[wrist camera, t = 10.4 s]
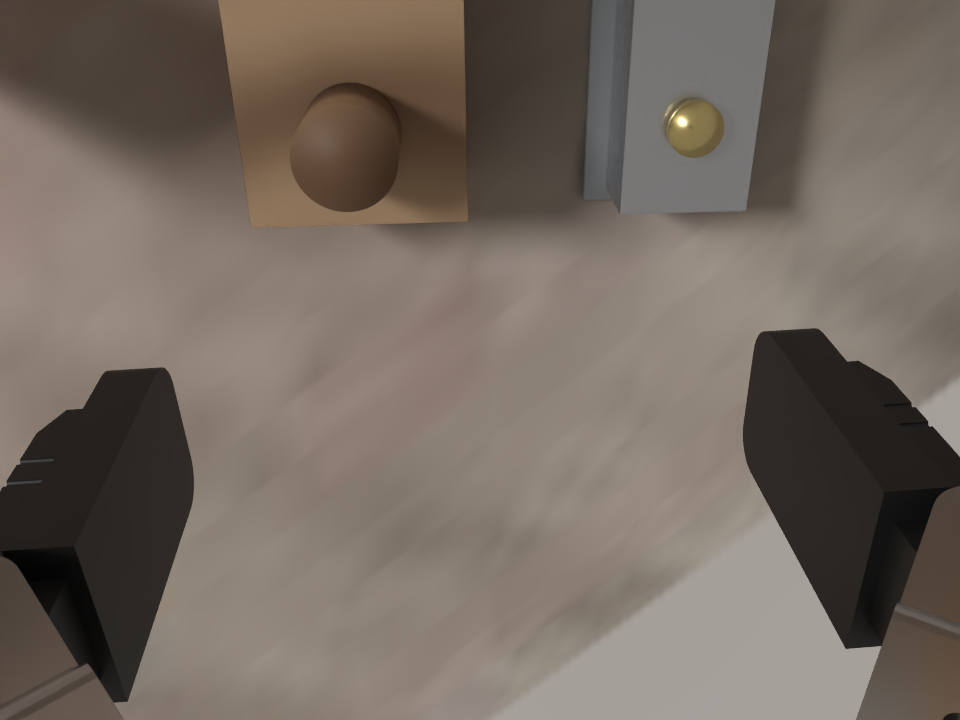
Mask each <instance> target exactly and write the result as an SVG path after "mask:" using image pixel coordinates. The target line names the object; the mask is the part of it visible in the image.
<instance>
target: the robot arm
mask: <svg viewBox="0 0 960 720" xmlns="http://www.w3.org/2000/svg"><path fill="white" fill-rule="evenodd" d="M743 444H744V452H745V457H746V461H747V464H748V467H749V469H750V472H751V474H752V475H753V477H754V479H755V481H756V483H757V485H758V487H759V488H760V490H761V492H762V494H763V496H764V498H765V500H766V501H767V503H768V505H769V507H770V509H771V511H772V513H773V514H774V516H775V518H776V520H777V522H778V524H779V526H780V527H781V529H782V531H783V533H784V535H785V537H786V539H787V540H788V542H789V544H790V546H791V548H792V550H793V551H794V553H795V555H796V557H797V559H798V561H799V563H800V564H801V566H802V568H803V570H804V572H805V574H806V576H807V577H808V579H809V581H810V583H811V585H812V587H813V589H814V591H815V592H816V594H817V596H818V598H819V600H820V602H821V604H822V605H823V607H824V609H825V611H826V613H827V614H828V616H829V618H830V620H831V622H832V624H833V626H834V628H835V630H836V631H837V633H838V635H839V637H840V639H841V641H842V642H843V644H844V646H845V648H846V649H849V648H861V647H873V646H881V649H880V652H879V655H878V658H877V661H876V664H875V666H874V669H873V672H872V675H871V678H870V681H869V684H868V687H867V689H866V693H865V695H864V698H863V701H862V704H861V707H860V710H859V712H858V715H857V718H856V720H960V457H959V456H958V454H957V453H956V452H955V451H954V450H953V449H952V448H951V447H950V445H949V444H948V443H947V442H946V441H945V440H944V439H943V438H942V436H941V435H940V434H939V433H938V432H937V431H936V430H935V429H934V428H933V427H929V426H928V421H927V420H926V418H925V417H924V416H923V415H922V414H921V413H920V412H919V411H918V409H917V408H916V407H913V408H912V406H911V402H910V400H909V399H908V398H907V397H906V396H905V395H904V394H903V393H902V391H901V390H900V389H899V388H898V387H897V386H896V385H895V384H894V382H893V381H892V380H890V379H889V378H887V377H885V376H884V375H882V374H880V373H878V372H877V371H875V370H873V369H871V368H870V367H868V366H866V365H865V364H863V363H861V362H859V361H851V362H847V361H846V360H845V359H844V357H843V356H842V355H841V354H840V353H839V351H838V350H837V349H836V348H835V347H834V346H833V344H832V343H831V342H830V341H829V340H828V338H827V337H826V336H825V335H824V334H823V332H822V331H820V330H819V329H816V328H812V329H796V330H780V331H764V332H761V333H760V334H759V336H758V337H757V340H756V343H755V347H754V353H753V360H752V367H751V374H750V381H749V389H748V396H747V403H746V410H745V417H744V425H743ZM20 462H21V463H20V465H16V467H15V469H14V470H13V472H12V473H11V475H10V477H9V478H8V480H7V487H3V488H2V489H1V491H0V720H124V719H123V717H122V715H121V714H120V712H119V711H118V709H117V708H116V706H115V704H114V703H115V702H128V699H129V696H130V693H131V690H132V687H133V683H134V680H135V677H136V674H137V671H138V668H139V665H140V662H141V659H142V656H143V653H144V650H145V647H146V644H147V641H148V638H149V635H150V632H151V629H152V625H153V622H154V619H155V616H156V613H157V610H158V607H159V604H160V601H161V598H162V595H163V592H164V589H165V586H166V583H167V580H168V577H169V574H170V571H171V567H172V564H173V561H174V558H175V555H176V552H177V549H178V546H179V543H180V540H181V537H182V534H183V531H184V528H185V525H186V522H187V519H188V516H189V513H190V509H191V506H192V501H193V492H194V475H193V466H192V460H191V456H190V452H189V448H188V444H187V439H186V435H185V431H184V427H183V423H182V419H181V415H180V410H179V406H178V402H177V398H176V394H175V390H174V386H173V382H172V379H171V376H170V374H169V372H168V371H167V370H166V369H165V368H146V369H129V370H113V371H106V372H105V373H104V374H103V375H102V376H101V378H100V380H99V382H98V383H97V385H96V387H95V389H94V390H93V392H92V394H91V396H90V397H89V399H88V401H87V402H86V404H85V406H84V408H83V409H74V410H66V411H65V412H64V413H62V414H61V415H60V416H58V417H57V418H56V419H55V420H53V421H52V422H51V423H49V424H48V425H47V426H46V427H44V428H43V429H42V430H41V431H39V432H38V433H37V434H36V435H35V437H34V438H33V440H32V442H31V443H30V445H29V446H28V448H27V450H26V451H25V453H24V454H23V456H22V457H21V459H20Z"/></svg>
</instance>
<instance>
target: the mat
mask: <svg viewBox="0 0 960 720" xmlns="http://www.w3.org/2000/svg"><path fill="white" fill-rule="evenodd" d="M616 1H617V0H591V7H590V30H589V53H588V75H587V98H586V121H585V144H584V167H583V190H582V198H583V200H612V198H611V196H610V194H609V193H608V191H607V189H606V187H605V185H606V169H607V152H608V135H609V118H610V101H611V85H612V68H613V51H614V34H615V18H616Z"/></svg>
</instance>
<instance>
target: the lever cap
mask: <svg viewBox="0 0 960 720" xmlns="http://www.w3.org/2000/svg"><path fill="white" fill-rule="evenodd" d="M774 7H775V0H617V1H616V18H615V34H614V51H613V68H612V85H611V101H610V118H609V135H608V152H607V169H606V185H605V187H606V189H607V191H608V193H609V194H610V196H611V198H612V200H613V202H614V204H615V206H616V208H617V209H618V211H619V213H620V214H649V213H688V212H726V211H746V207H747V200H748V193H749V186H750V178H751V171H752V164H753V157H754V150H755V143H756V136H757V128H758V121H759V114H760V107H761V100H762V93H763V86H764V79H765V71H766V64H767V57H768V50H769V43H770V36H771V29H772V22H773V14H774Z"/></svg>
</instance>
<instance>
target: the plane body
mask: <svg viewBox="0 0 960 720" xmlns="http://www.w3.org/2000/svg"><path fill="white" fill-rule="evenodd" d="M218 2H219V9H220V15H221V22H222V29H223V36H224V43H225V50H226V57H227V64H228V71H229V77H230V84H231V91H232V98H233V105H234V112H235V119H236V126H237V132H238V139H239V146H240V153H241V160H242V167H243V174H244V181H245V187H246V194H247V201H248V208H249V215H250V222H251V228H262V227H296V226H331V225H365V224H400V223H434V222H468V187H467V139H466V91H465V43H464V0H218Z"/></svg>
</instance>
